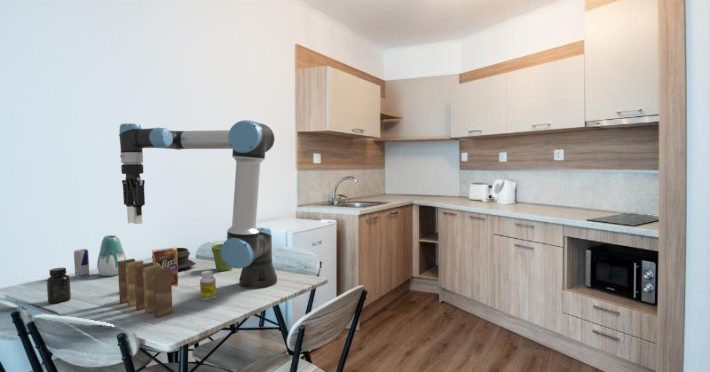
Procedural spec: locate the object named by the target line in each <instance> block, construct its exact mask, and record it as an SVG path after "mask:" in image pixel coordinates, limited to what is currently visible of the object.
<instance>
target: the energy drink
mask: <svg viewBox="0 0 710 372" xmlns="http://www.w3.org/2000/svg"><path fill="white" fill-rule="evenodd" d="M73 259H74V260H73V261H74V264H73V265H74V277H75V278H76V279H81V278H87V277H90V261H89V260H90V258H89V250H88V249H87V248H84V249H83V248H82V249H76V250H74V251H73Z"/></svg>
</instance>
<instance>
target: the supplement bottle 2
mask: <svg viewBox="0 0 710 372" xmlns="http://www.w3.org/2000/svg"><path fill="white" fill-rule="evenodd" d="M216 284H217V282H216V277H215V276H214V271H213V270H205V271H202V272H201V278H200V279H199V289H200V291H199V292H200V299H201V300H211V299H214V298H217V286H216Z"/></svg>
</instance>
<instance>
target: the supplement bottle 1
mask: <svg viewBox="0 0 710 372" xmlns="http://www.w3.org/2000/svg"><path fill="white" fill-rule="evenodd" d="M71 292H72V291H71V278H70V276H69V275H68V274H67V268H66V267H55V268H51V269H49V277H48V278H47V279H46V293H47V303H48V304H49V305H59V304H63V303H67V302H69V301H70V300H72V293H71Z"/></svg>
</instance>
